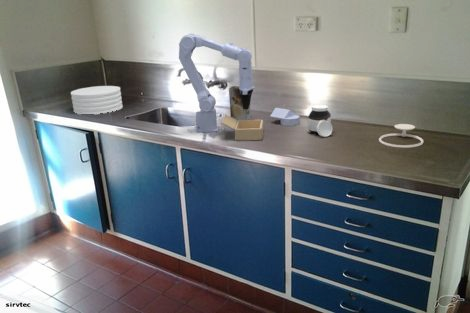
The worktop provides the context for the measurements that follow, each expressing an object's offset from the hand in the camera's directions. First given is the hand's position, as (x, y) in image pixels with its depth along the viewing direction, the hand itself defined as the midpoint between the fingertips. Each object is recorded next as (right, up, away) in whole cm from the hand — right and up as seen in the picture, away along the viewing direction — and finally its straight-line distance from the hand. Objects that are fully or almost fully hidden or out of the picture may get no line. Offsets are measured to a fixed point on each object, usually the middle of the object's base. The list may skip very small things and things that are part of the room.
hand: (246, 107), depth 199 cm
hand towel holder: (+62, -16, -22) cm, 68 cm away
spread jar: (+32, -13, -9) cm, 36 cm away
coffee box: (-2, -3, +23) cm, 23 cm away
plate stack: (-87, +5, +61) cm, 106 cm away
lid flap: (-8, -7, -7) cm, 13 cm away
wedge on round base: (+19, -7, +11) cm, 23 cm away
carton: (+1, -13, -6) cm, 15 cm away
